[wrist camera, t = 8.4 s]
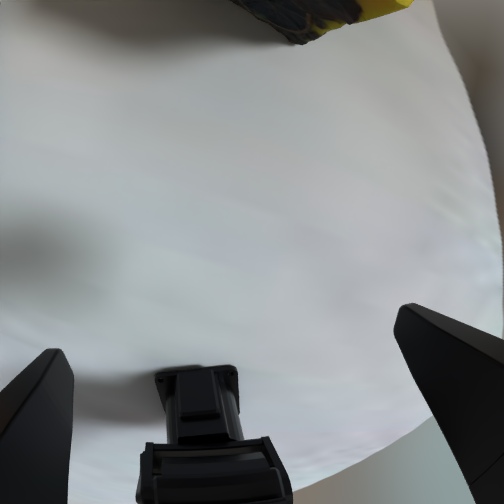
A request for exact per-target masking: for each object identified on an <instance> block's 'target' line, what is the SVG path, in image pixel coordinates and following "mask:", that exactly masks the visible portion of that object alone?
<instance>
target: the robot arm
mask: <svg viewBox="0 0 504 504" xmlns="http://www.w3.org/2000/svg"><path fill="white" fill-rule="evenodd" d="M393 331H394V336H395V339H396V341H397V343H398V345H399V347H400V350H401V352H402V354H403V356H404V359H405V361H406V363H407V365H408V368H409V370H410V372H411V374H412V377H413V379H414V380H415V382H416V384H417V386H418V388H419V390H420V391H421V393H422V395H423V397H424V399H425V401H426V402H427V404H428V406H429V408H430V410H431V412H432V414H433V415H434V417H435V419H436V421H437V423H438V425H439V427H440V429H441V431H442V433H443V434H444V437H445V439H446V441H447V442H448V445H449V447H450V449H451V450H452V453H453V455H454V457H455V459H456V461H457V463H458V465H459V467H460V469H461V471H462V473H463V476H464V478H465V480H466V482H467V484H468V486H469V489H470V491H471V494H472V496H473V498H474V501H475V503H476V504H504V340H503V339H501V338H498V337H496V336H493V335H491V334H489V333H486V332H484V331H481V330H479V329H477V328H474V327H472V326H469V325H467V324H464V323H462V322H460V321H457V320H455V319H452V318H450V317H447V316H445V315H443V314H440V313H438V312H435V311H433V310H430V309H428V308H425V307H423V306H420V305H418V304H416V303H409V304H405V305H402V306H401V307H400V308H399V311H398V315H397V318H396V322H395V325H394V330H393ZM160 378H161V379H160ZM155 383H156V386H157V390H158V393H159V396H160V399H161V402H162V405H163V408H164V411H165V414H166V428H167V444H154V443H153V442H146V446H145V451H143V453H142V454H140V476H139V481H138V485H137V490H136V502H137V503H138V504H293V493H292V487H291V483H290V480H289V477H288V474H287V472H286V470H285V468H284V466H283V464H282V462H281V460H280V458H279V456H278V454H277V452H276V450H275V448H274V446H273V444H272V442H271V440H270V438H269V436H266V437H261V438H259V439H250V440H244V436H243V432H242V428H241V424H240V419H239V413H240V408H239V389H238V372H237V368H236V367H235V366H225V367H217V368H208V369H198V370H187V371H175V372H162V373H157V374H156V375H155ZM73 391H74V375H73V371H72V369H71V367H70V365H69V363H68V361H67V359H66V357H65V355H64V353H63V351H62V350H61V349H59V348H50V349H46V350H45V351H43V352H42V353H41V354H40V355H39V356H38V357H37V358H36V359H35V360H34V361H32V362H31V363H30V364H29V365H28V366H27V367H26V368H25V369H24V370H23V371H22V372H21V373H20V374H18V375H17V376H16V377H15V378H14V379H13V380H12V381H11V382H10V383H9V384H8V385H7V386H6V387H5V388H4V389H3V390H2V391H1V392H0V504H67V501H68V476H69V461H70V450H71V440H72V425H73Z"/></svg>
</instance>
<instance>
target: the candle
mask: <svg viewBox="0 0 504 504" xmlns="http://www.w3.org/2000/svg"><path fill="white" fill-rule="evenodd" d="M230 1H232V2H234V3H235V4H237V5H239V6H240V7H242V8H244V9H246V10H247V11H249V12H251V13H252V14H253V15H254V16H255V17H256V18H257V19H259V20H261V21H264V22H267V23H269V24H270V25H271V26H272V27H273V28H275V29H276V30H277V31H278V32H280V33H282V34H283V35H285V37H286V38H287V39H288V40H289V41H290V42H292V43H295V44H299V45H304V44H307V43H308V42H309V41H314V40H315V39H318V38H319V37H321V36H322V35H324V34H326V32H328V31H330V30H333V29H338V28H341V27H342V26H343V25H345V24H346V23H347V24H349V25H351V24H353V23H359V22H363V21H366V20H370V19H373V18H377V17H380V16H383V15H387V14H390V13H393V12H396V11H399V10H402V9H405V8H408V7H409V6H410V4H411V3H412V2H413V1H414V0H230Z"/></svg>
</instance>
